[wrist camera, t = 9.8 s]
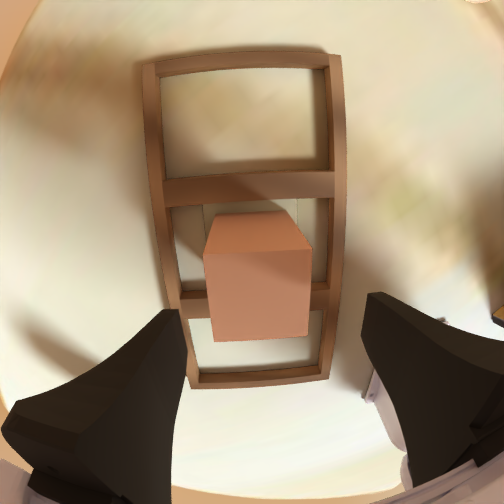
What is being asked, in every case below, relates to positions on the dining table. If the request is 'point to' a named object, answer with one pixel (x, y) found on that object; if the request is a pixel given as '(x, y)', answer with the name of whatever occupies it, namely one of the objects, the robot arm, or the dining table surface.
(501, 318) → the picture frame
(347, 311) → the dining table surface
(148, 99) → the wooden divided frame
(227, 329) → the terracotta block
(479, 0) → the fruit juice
